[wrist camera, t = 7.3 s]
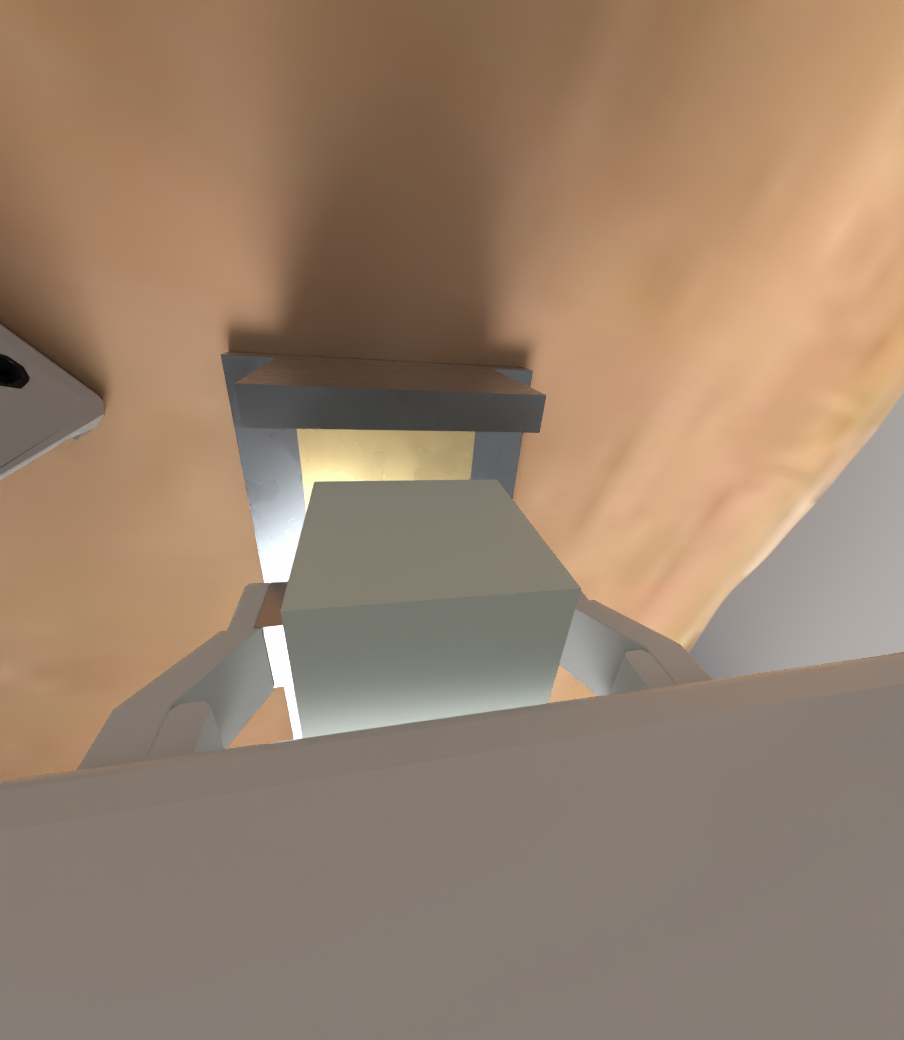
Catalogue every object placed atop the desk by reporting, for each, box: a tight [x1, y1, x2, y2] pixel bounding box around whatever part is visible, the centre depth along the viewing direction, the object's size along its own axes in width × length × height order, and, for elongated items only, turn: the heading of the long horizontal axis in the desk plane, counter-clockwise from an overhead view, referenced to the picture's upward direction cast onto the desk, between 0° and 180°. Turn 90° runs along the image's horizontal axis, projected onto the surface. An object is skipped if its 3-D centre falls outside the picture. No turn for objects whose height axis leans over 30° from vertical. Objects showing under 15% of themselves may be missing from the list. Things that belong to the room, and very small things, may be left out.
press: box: [221, 352, 546, 739], centre depth 21 cm, size 27×13×7 cm, turn 176°
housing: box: [280, 479, 581, 738], centre depth 10 cm, size 6×5×5 cm
